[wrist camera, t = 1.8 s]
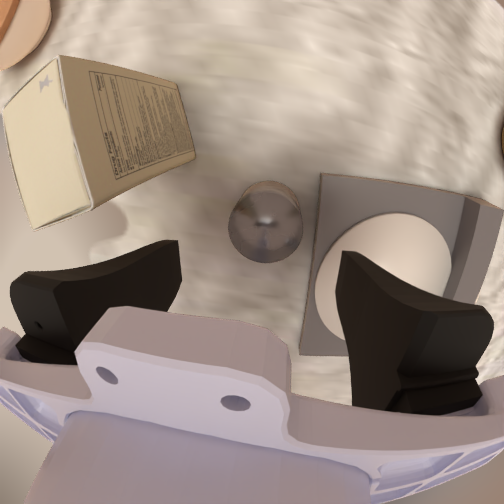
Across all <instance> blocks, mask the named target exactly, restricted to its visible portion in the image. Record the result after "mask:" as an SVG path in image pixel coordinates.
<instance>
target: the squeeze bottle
mask: <svg viewBox="0 0 504 504" xmlns="http://www.w3.org/2000/svg"><path fill="white" fill-rule="evenodd" d="M502 150H503V154H504V127H503V132H502Z"/></svg>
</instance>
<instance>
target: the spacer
mask: <svg viewBox="0 0 504 504" xmlns="http://www.w3.org/2000/svg"><path fill="white" fill-rule="evenodd" d="M228 230H229V236H230V239H231V241H232V243H233V245H234V246H235V248H236V249H237V250H238V251H239V252H240V253H241V254H242V255H243V256H245V257H246V258H248V259H250V260H253V261H256V262H260V263H273V262H277V261H280V260H283V259H285V258H287V257H288V256H289V255H291V254H292V253H293V252H294V251H295V250H296V248H297V247H298V245H299V243H300V241H301V238H302V234H303V223H302V218H301V212H300V207H299V203H298V200H297V198H296V196H295V194H294V193H293V192H292V191H291V190H290V189H289V188H288V187H287V186H285V185H283V184H281V183H279V182H275V181H262V182H258V183H256V184H254V185H252V186H251V187H249V188H248V189H247V190H246V191H245V192H244V194H243V195H242V197H241V198H240V200H239V201H238V203H237V205H236V206H235V208H234V209H233V211H232V213H231V215H230V218H229V224H228Z"/></svg>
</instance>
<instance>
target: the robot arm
mask: <svg viewBox="0 0 504 504" xmlns="http://www.w3.org/2000/svg"><path fill="white" fill-rule="evenodd" d="M181 282H182V274H181V265H180V256H179V246H178V240H162V241H158V242H155V243H152V244H150V245H147V246H145V247H142V248H140V249H137V250H135V251H132V252H129V253H127V254H124V255H121V256H119V257H116V258H113V259H110V260H107V261H104V262H100V263H97V264H93V265H88V266H83V267H78V268H73V269H66V270H57V271H28V272H24V273H23V274H22V275H21V276H20V277H18V278H17V279H16V280H14V281H13V282H12V283H11V286H10V298H11V302H12V305H13V307H14V310H15V312H16V314H17V317H18V319H19V321H20V323H21V325H22V327H23V329H24V331H25V333H26V334H25V335H24V336H23V337H22V338H21V337H20V336H19V335H18V334H17V333H15V332H13V331H11V330H9V329H7V328H5V327H3V328H2V329H0V403H1V404H2V405H3V406H4V407H6V408H7V409H8V410H10V411H11V412H12V413H13V414H14V415H16V416H17V417H18V418H19V419H21V420H22V421H23V422H25V423H26V424H27V425H29V426H30V427H31V428H32V429H34V430H35V431H36V432H38V433H39V434H41V435H42V436H43V437H45V438H46V439H47V440H49V441H50V442H52V443H53V446H52V447H51V449H50V451H49V453H48V455H47V457H46V458H45V460H44V462H43V464H42V466H41V468H40V470H39V472H38V474H37V476H36V478H35V480H34V482H33V484H32V486H31V488H30V490H29V492H28V494H27V496H26V499H25V501H24V503H23V504H381V503H385V502H389V501H392V500H396V499H399V498H402V497H406V496H409V495H412V494H415V493H418V492H421V491H424V490H427V489H429V488H432V487H434V486H437V485H439V484H442V483H444V482H447V481H449V480H452V479H454V478H456V477H459V476H461V475H463V474H465V473H467V472H470V471H472V470H474V469H476V468H478V467H480V466H482V465H484V464H486V463H488V462H489V461H490V460H491V459H492V458H494V457H495V456H496V455H498V454H499V453H500V452H501V451H502V450H503V449H504V375H502V376H499V377H495V378H492V379H488V380H486V381H484V382H482V383H481V384H480V385H479V386H478V384H477V382H476V380H475V378H477V377H478V375H479V372H478V370H477V368H476V367H475V366H476V364H477V363H478V361H479V360H480V358H481V356H482V355H483V353H484V351H485V350H486V348H487V346H488V344H489V342H490V340H491V338H492V334H493V330H494V321H493V319H492V317H491V315H490V314H489V313H488V312H487V310H486V309H485V308H484V307H483V306H480V305H474V304H469V303H463V302H458V301H455V300H451V299H447V298H444V297H441V296H438V295H435V294H432V293H429V292H427V291H424V290H422V289H420V288H417V287H415V286H413V285H411V284H409V283H407V282H405V281H403V280H401V279H399V278H398V277H396V276H394V275H393V274H391V273H389V272H388V271H386V270H385V269H383V268H382V267H380V266H379V265H377V264H376V263H374V262H373V261H371V260H370V259H368V258H367V257H365V256H364V255H362V254H360V253H358V252H356V251H344V250H342V254H341V260H340V266H339V272H338V277H337V283H336V288H335V297H336V305H337V311H338V315H339V319H340V322H341V326H342V330H343V334H344V337H345V341H346V345H347V350H348V355H349V363H350V373H351V387H352V406H349V405H343V404H338V403H333V402H328V401H324V400H319V399H314V398H310V397H306V396H302V395H298V394H294V393H291V360H290V356H289V351H288V347H287V345H286V344H285V343H284V342H283V341H282V340H280V339H279V338H278V337H277V336H276V335H275V334H273V333H272V332H271V331H270V330H269V329H267V328H263V327H260V326H256V325H253V324H249V323H246V322H242V321H238V320H228V319H218V318H209V317H200V316H192V315H184V314H177V313H169V312H167V311H168V309H169V308H170V306H171V304H172V302H173V301H174V299H175V297H176V295H177V292H178V290H179V287H180V285H181Z"/></svg>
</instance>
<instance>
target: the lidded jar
mask: <svg viewBox="0 0 504 504" xmlns="http://www.w3.org/2000/svg"><path fill="white" fill-rule="evenodd" d="M51 19H52V11H51V9H50V0H0V71H2V70H5V69H7V68H9V67H11V66H13V65H15V64H16V63H18V62H19V61H21V60H22V59H23V58H24V57H25V56H26V55H28V54H30V53H31V52H33V51H34V50H35V49H36V48H37V46H38V45H39V44H40V43H41V41H42V40H43V38H44V36H45V35H46V33H47V31H48V28H49V26H50V23H51Z"/></svg>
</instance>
